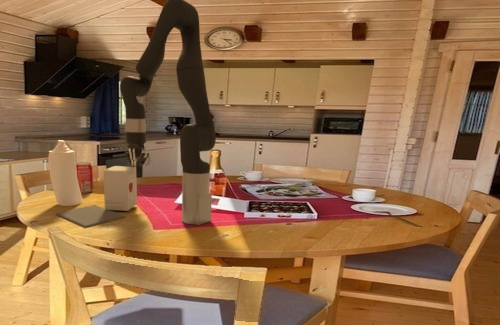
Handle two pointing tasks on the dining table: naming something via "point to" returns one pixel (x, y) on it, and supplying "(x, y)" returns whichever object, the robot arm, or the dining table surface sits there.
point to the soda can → (85, 176)
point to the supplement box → (120, 188)
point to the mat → (90, 215)
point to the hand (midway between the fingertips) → (136, 175)
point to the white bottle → (64, 175)
